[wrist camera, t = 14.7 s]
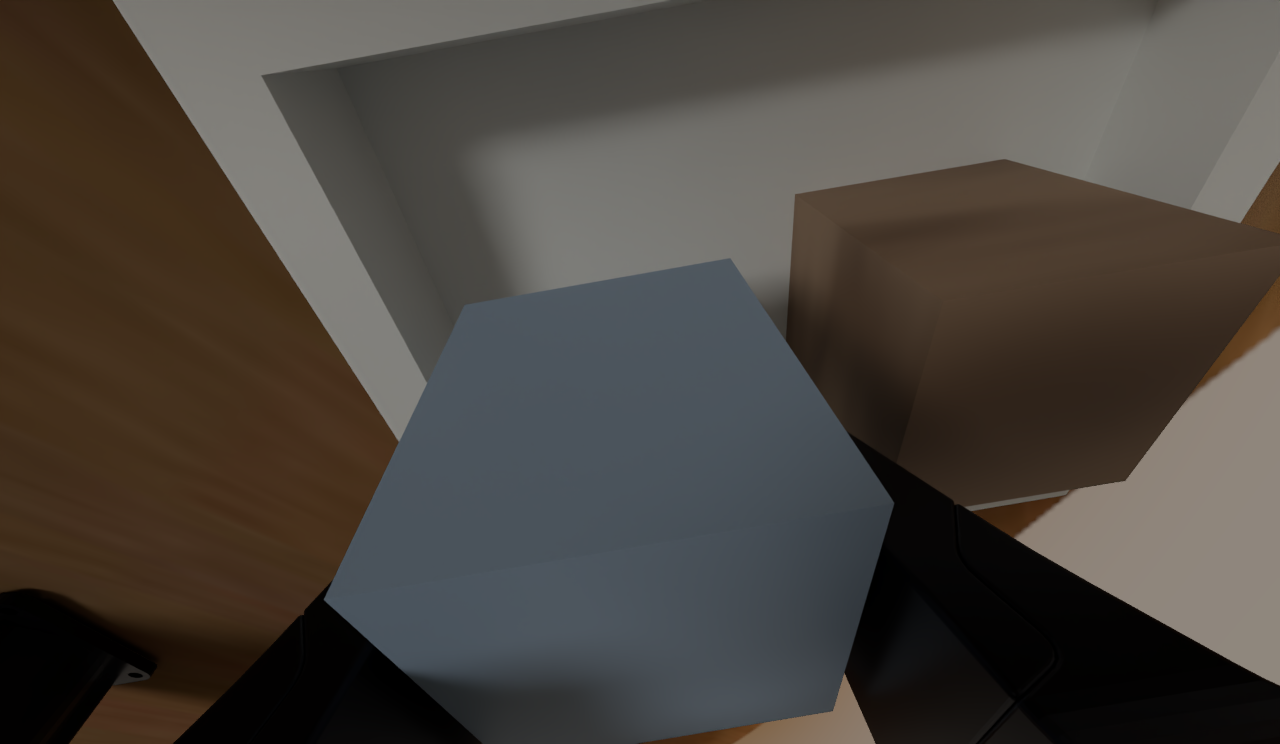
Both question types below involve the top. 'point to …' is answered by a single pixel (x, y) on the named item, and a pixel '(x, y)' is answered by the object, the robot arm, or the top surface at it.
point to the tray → (672, 132)
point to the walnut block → (1013, 320)
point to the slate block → (619, 519)
